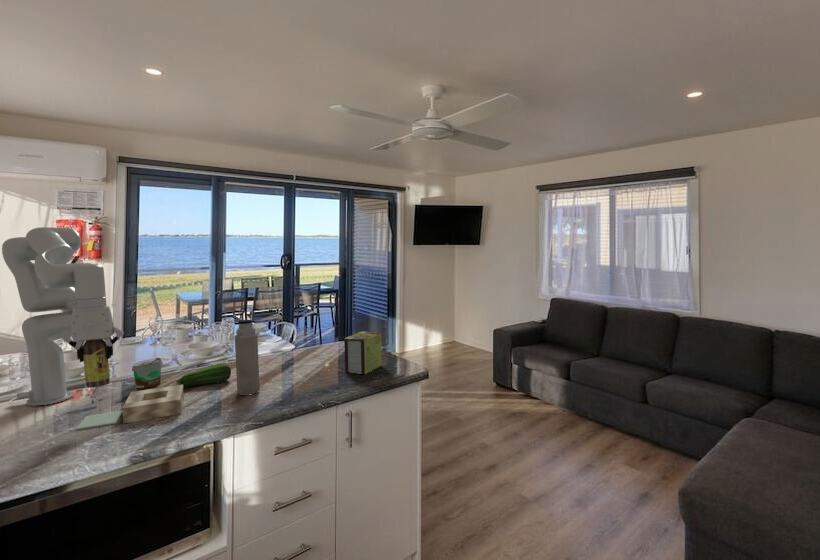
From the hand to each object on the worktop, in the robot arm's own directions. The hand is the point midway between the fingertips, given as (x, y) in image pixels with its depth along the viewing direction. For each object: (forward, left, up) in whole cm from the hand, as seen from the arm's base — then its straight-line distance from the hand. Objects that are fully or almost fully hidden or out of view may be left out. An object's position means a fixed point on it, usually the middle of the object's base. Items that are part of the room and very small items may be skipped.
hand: (96, 358), depth 129 cm
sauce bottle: (0, 0, -9) cm, 9 cm away
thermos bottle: (+45, +5, -21) cm, 50 cm away
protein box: (+94, +12, -21) cm, 97 cm away
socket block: (+15, +2, -20) cm, 25 cm away
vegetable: (+30, +23, -21) cm, 43 cm away
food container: (+11, +30, -21) cm, 38 cm away
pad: (0, 0, -20) cm, 20 cm away
